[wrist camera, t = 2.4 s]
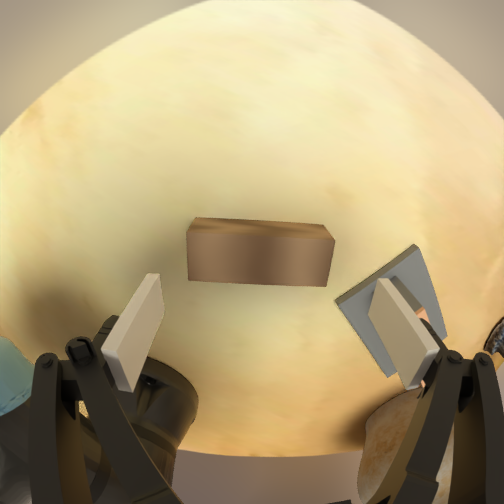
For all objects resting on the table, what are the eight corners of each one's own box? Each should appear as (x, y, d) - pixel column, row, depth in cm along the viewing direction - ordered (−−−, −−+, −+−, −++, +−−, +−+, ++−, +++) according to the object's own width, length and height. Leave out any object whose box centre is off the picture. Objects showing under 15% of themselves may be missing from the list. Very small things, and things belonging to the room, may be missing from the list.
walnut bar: (196, 258, 25) (188, 280, 22) (195, 216, 24) (186, 232, 20) (315, 265, 26) (326, 286, 22) (322, 223, 24) (335, 240, 20)
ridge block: (384, 372, 32) (402, 411, 26) (335, 299, 27) (356, 346, 21) (444, 331, 30) (468, 365, 23) (414, 244, 25) (453, 276, 18)
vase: (455, 399, 39) (506, 507, 11) (365, 451, 44) (392, 564, 16) (446, 348, 31) (532, 505, 4) (322, 421, 36) (352, 589, 9)
